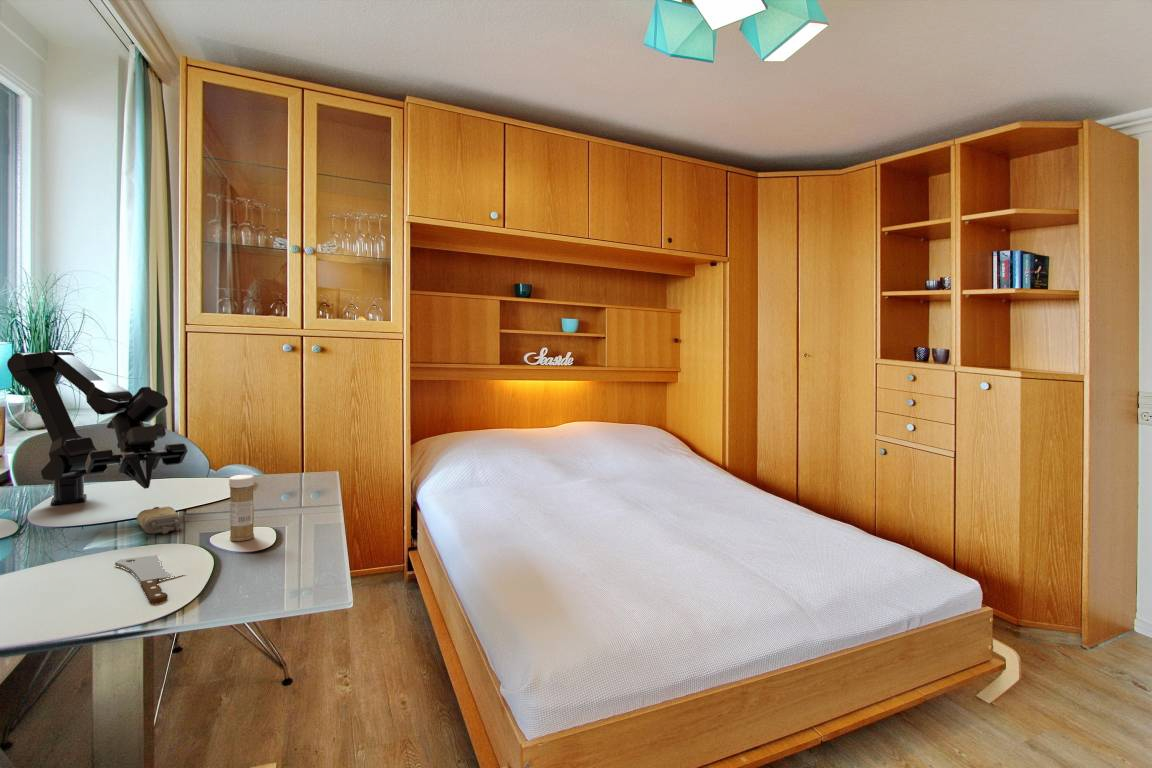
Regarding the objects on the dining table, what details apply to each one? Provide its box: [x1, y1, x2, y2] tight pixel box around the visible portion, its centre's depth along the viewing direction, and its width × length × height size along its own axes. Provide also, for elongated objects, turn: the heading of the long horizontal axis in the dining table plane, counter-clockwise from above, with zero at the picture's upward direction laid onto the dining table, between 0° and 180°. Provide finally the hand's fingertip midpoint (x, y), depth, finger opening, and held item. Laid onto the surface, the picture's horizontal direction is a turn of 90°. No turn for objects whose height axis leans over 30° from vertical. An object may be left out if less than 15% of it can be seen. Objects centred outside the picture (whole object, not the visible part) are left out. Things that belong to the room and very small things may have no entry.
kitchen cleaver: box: [114, 554, 175, 605], centre depth 102 cm, size 24×1×10 cm
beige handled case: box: [136, 506, 183, 534], centre depth 127 cm, size 7×4×10 cm
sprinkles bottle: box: [228, 474, 255, 542], centre depth 122 cm, size 5×5×13 cm
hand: (147, 487), depth 133 cm, fingers closed
